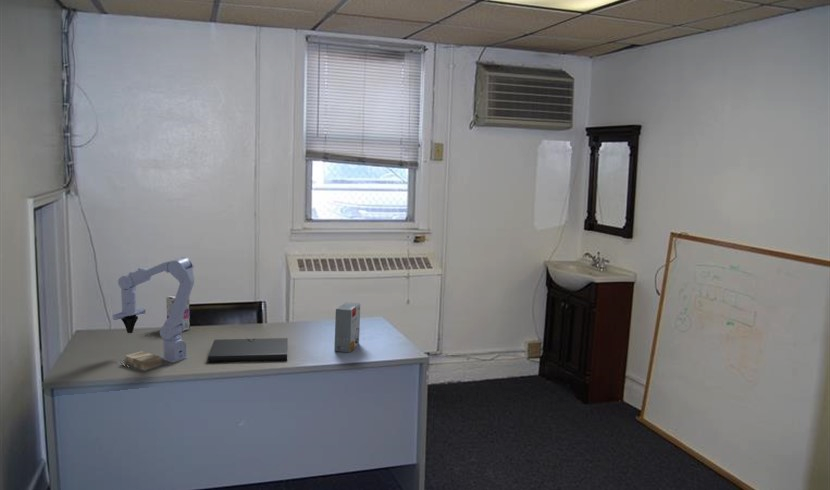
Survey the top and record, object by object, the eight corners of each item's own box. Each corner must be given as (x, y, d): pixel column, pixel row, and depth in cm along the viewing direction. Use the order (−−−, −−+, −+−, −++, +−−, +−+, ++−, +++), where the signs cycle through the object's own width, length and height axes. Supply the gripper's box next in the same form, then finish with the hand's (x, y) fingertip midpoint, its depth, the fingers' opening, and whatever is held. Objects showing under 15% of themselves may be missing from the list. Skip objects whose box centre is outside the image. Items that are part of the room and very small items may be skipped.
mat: (169, 365, 273) (168, 364, 273) (143, 373, 263) (143, 372, 263) (139, 356, 284) (139, 355, 284) (113, 363, 274) (113, 362, 274)
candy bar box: (190, 329, 326) (189, 297, 324) (182, 332, 322) (182, 299, 319) (174, 326, 331) (173, 294, 329) (166, 328, 327) (165, 296, 324)
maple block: (142, 358, 280) (161, 365, 273) (125, 363, 273) (144, 370, 266) (142, 351, 279) (161, 357, 272) (125, 355, 272) (144, 361, 266)
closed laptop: (287, 337, 307) (287, 353, 283) (287, 345, 308) (287, 362, 284) (214, 338, 301) (207, 355, 277) (214, 347, 302) (207, 365, 278)
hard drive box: (350, 353, 298) (350, 310, 295) (334, 351, 299) (334, 309, 296) (359, 343, 313) (360, 302, 310) (344, 342, 314) (345, 301, 311)
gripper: (137, 297, 290) (138, 327, 292) (107, 303, 278) (108, 334, 280) (148, 300, 287) (148, 330, 289) (117, 306, 274) (119, 337, 276)
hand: (129, 332), depth 284 cm, fingers closed
